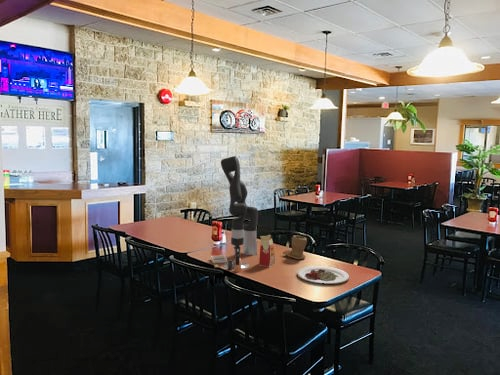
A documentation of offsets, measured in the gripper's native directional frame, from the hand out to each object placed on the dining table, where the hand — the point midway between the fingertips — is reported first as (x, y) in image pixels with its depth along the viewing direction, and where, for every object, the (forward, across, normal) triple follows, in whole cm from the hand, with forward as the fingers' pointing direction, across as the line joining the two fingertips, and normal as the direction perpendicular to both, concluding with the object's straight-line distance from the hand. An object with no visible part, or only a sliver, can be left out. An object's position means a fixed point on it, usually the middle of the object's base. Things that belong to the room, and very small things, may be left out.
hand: (236, 262), depth 246 cm
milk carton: (+6, -13, +20) cm, 24 cm away
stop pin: (+6, 0, +1) cm, 6 cm away
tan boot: (+5, -29, +42) cm, 51 cm away
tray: (+6, -21, -10) cm, 24 cm away
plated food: (+6, +10, +50) cm, 52 cm away
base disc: (+6, -11, -2) cm, 12 cm away
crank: (+5, -8, -2) cm, 9 cm away
